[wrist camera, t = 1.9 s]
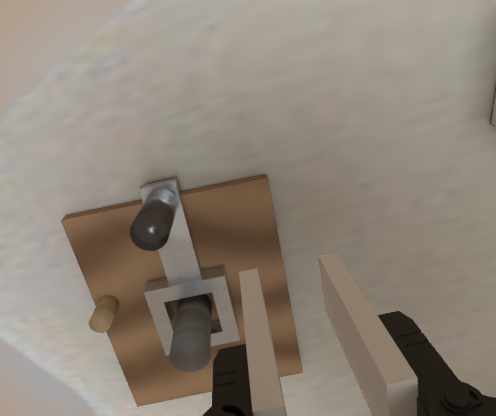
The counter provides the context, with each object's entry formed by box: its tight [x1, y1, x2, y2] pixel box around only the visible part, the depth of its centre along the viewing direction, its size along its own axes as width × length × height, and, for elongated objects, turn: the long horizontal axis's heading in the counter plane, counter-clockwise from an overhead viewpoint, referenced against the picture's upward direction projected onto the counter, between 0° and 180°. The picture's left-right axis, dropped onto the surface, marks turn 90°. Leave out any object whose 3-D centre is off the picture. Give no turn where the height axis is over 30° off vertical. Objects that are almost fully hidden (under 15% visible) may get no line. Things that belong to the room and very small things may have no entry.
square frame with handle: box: [130, 178, 240, 356], centre depth 31 cm, size 16×7×7 cm, turn 11°
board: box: [61, 174, 303, 407], centre depth 33 cm, size 22×18×8 cm
